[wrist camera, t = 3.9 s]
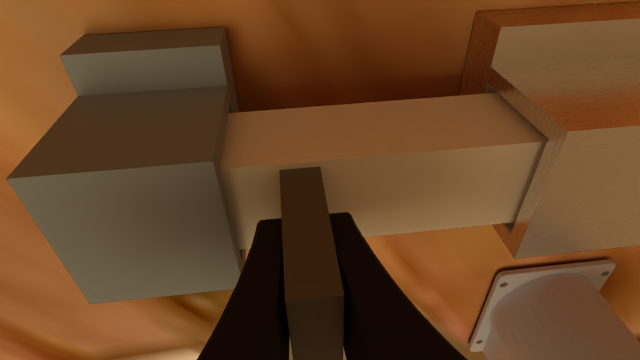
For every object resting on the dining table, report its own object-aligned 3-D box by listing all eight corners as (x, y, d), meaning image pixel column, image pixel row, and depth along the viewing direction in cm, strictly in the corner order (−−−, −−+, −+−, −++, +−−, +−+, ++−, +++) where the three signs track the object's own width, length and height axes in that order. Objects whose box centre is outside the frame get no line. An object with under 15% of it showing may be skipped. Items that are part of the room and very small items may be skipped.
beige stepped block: (694, -2, 15) (911, 58, 10) (607, 162, 20) (724, 258, 15) (476, 11, 15) (588, 82, 10) (441, 177, 20) (503, 283, 15)
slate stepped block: (225, 26, 14) (201, 112, 9) (254, 194, 19) (249, 311, 14) (83, 35, 14) (-27, 129, 9) (150, 203, 19) (105, 328, 14)
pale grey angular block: (532, 88, 15) (732, 245, 8) (506, 164, 17) (650, 334, 10) (150, 116, 14) (51, 320, 7) (175, 193, 16) (116, 400, 9)
